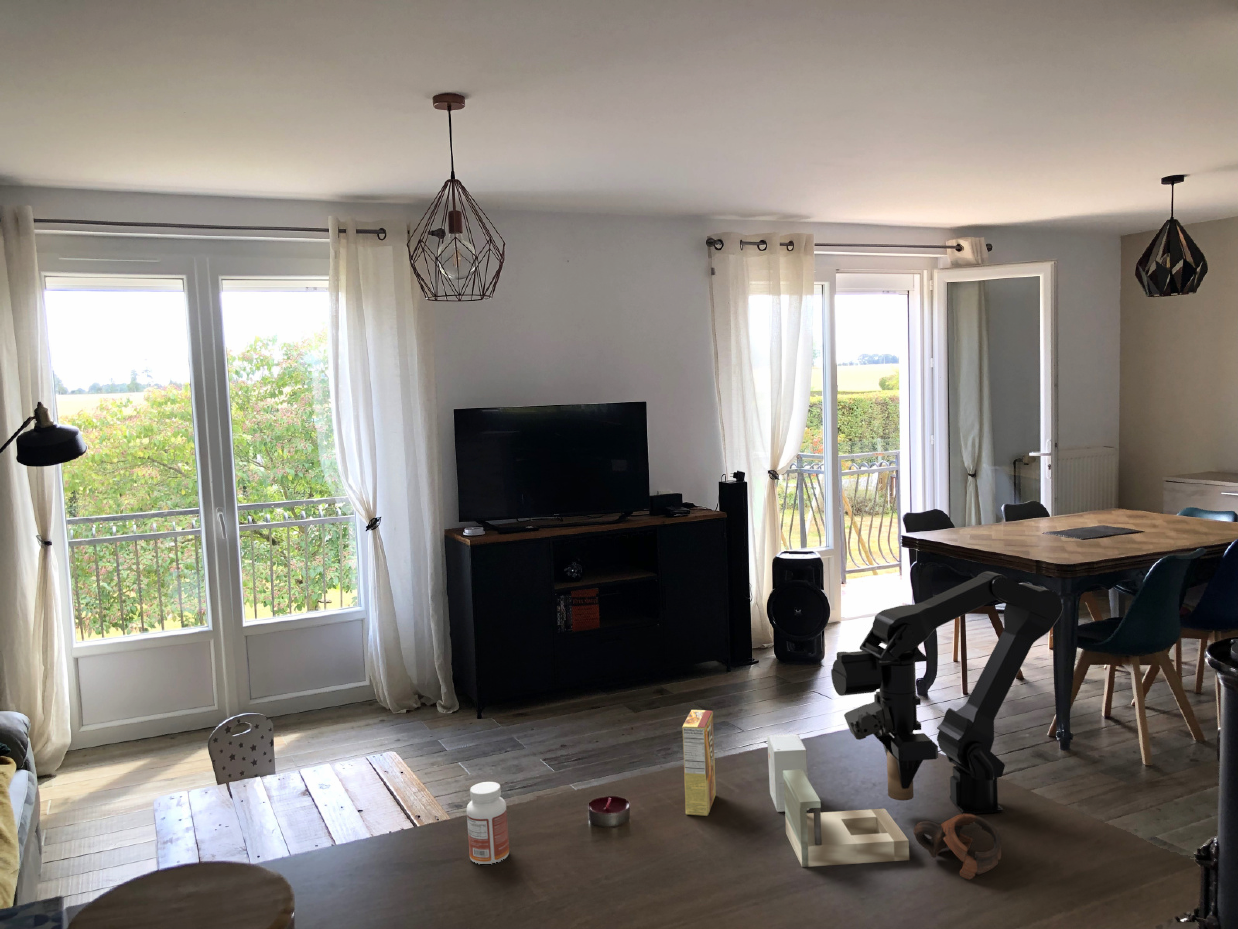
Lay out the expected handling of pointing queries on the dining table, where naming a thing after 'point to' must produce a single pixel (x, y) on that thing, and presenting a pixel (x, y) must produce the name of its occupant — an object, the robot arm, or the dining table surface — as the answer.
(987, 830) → the pottery mug
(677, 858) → the dining table surface
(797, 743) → the small box
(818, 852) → the shelter
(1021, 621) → the robot arm
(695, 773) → the candy box
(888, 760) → the peg
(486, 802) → the pill bottle
